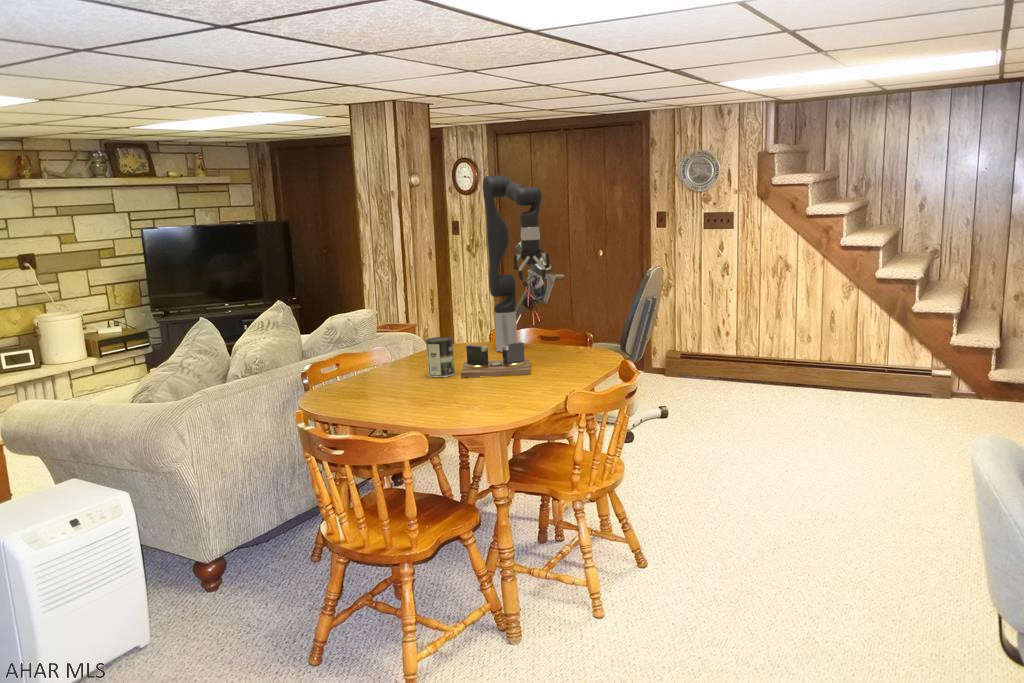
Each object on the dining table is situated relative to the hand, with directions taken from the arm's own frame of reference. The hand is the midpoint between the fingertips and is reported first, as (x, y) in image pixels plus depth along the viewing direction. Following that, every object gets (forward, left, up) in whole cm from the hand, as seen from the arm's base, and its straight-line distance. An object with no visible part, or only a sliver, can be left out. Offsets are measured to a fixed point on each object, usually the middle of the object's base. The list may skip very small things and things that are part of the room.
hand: (532, 279), depth 323 cm
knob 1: (+14, -23, -31) cm, 41 cm away
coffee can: (+17, -37, -33) cm, 53 cm away
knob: (+14, -9, -31) cm, 35 cm away
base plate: (+14, -16, -33) cm, 39 cm away
